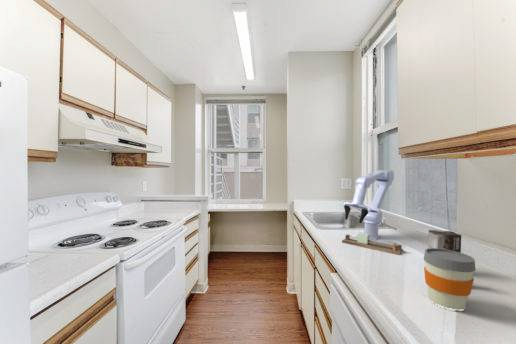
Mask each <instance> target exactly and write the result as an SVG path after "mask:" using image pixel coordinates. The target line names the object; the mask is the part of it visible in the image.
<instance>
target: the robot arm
mask: <svg viewBox="0 0 516 344" xmlns="http://www.w3.org/2000/svg"><path fill="white" fill-rule="evenodd" d="M394 176H395V173H394V171H393V170H381V169H376V170H374V172H373V173H370V172H368V173H367V174H366V175H363V177H357V178H356V180H355V181H354V182H355V187H354V189H355V190H354V194H353V197H352V202H346V201H344V202H343V204H342V206H343V207H344V208H343V209H344V216H345V217H344V219H345V220H348V219H349V216H350V215H349V214H350V212H351V210H352V208H353V209H358V210H360V211H361V212H360V217H359V221H358V222H359V224H362V223H364V230H363V231H364V232H363V233H366V234H370V240H372V241H377V240H378V239H379V238H381V236H380V235H379V229H380V228H379V224H380V223H381V221H382V217H383V212H382V210H381V209H380V208H381V206H382V204H383V202H384V199H385V196H386V194H387V192H388V188H389V187H390V186H392V183H393V181H394V179H395V177H394ZM374 183H376V185H378V187H377V190H376V193H375V195H374V197H373V199H372V201H371V204H370V205H369V206H365V205H364V202H365V200H366V194H367V191H368V189H369V188H370V187H371V186H372V184H374Z"/></svg>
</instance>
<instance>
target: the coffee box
mask: <svg viewBox="0 0 516 344" xmlns="http://www.w3.org/2000/svg"><path fill="white" fill-rule="evenodd" d="M427 239H428V241H427V242H428V243H427V244H428V246H427V249H429V248H438V249H446V250H451V251H456V252H460V253H462V234H458V233H457V232H454V231H452V230H451V231H450V230H438V229H437V230H434V229H433V230H432V229H430V230H428V238H427Z"/></svg>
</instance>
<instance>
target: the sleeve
mask: <svg viewBox="0 0 516 344" xmlns="http://www.w3.org/2000/svg"><path fill="white" fill-rule="evenodd" d="M357 238H358V239H357V242H359V243H364V244H368V240H371V239H370V234H366V233H364V232H358V233H357Z"/></svg>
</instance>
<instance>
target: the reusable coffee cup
mask: <svg viewBox="0 0 516 344" xmlns="http://www.w3.org/2000/svg"><path fill="white" fill-rule="evenodd" d="M424 250H425V251H424V255H423V260H424V264H425V266H424V268H423V272H424V280H425V284H426V287H427V297H428V300H429V299H430V300H431V301H433V302H434V303H436V304H439V305H441V306H444V307H447V308H452V309H458V310H459V309H464V308H465V309H466V306H467V302H468V298H469V296H470V295H471V292H472V289H473V284H474V281H475V279H474V277H473V275H474V272H475V271H476V262H475V260H476V259H475V258H474V257H472V256H470V255H468V254H465V253H463V252H461V253H460V252H456V251H451V250H446V249H438V248H429V249H428V248H426V249H424ZM430 300H429V301H430Z"/></svg>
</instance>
